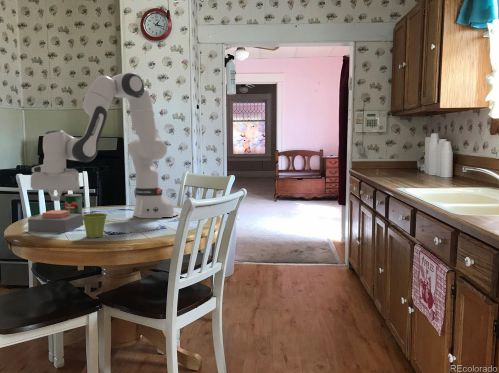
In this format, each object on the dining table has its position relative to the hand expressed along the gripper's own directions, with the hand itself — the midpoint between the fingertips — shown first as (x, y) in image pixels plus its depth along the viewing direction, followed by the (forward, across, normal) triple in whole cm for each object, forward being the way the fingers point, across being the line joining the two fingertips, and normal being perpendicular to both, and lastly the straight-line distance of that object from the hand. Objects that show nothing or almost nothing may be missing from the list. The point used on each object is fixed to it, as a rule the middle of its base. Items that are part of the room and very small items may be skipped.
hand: (55, 200), depth 191 cm
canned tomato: (+12, +6, -28) cm, 31 cm away
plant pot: (+12, -23, +14) cm, 30 cm away
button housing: (+12, 0, 0) cm, 12 cm away
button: (+9, 0, 0) cm, 9 cm away
